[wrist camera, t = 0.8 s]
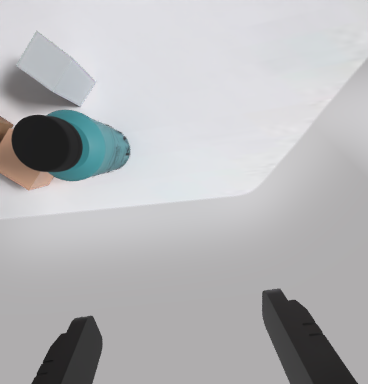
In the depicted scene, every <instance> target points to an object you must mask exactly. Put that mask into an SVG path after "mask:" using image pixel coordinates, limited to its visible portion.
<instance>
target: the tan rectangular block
mask: <svg viewBox="0 0 368 384" xmlns="http://www.w3.org/2000/svg"><path fill="white" fill-rule="evenodd" d="M12 127H13V124H11V123H10V122H8V121H7V120H5V119H4V118H2V117H1V116H0V143H1V141H2V140H3V138H4V136H5V135H6V133H7V131H8V130H9V128H12Z"/></svg>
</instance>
